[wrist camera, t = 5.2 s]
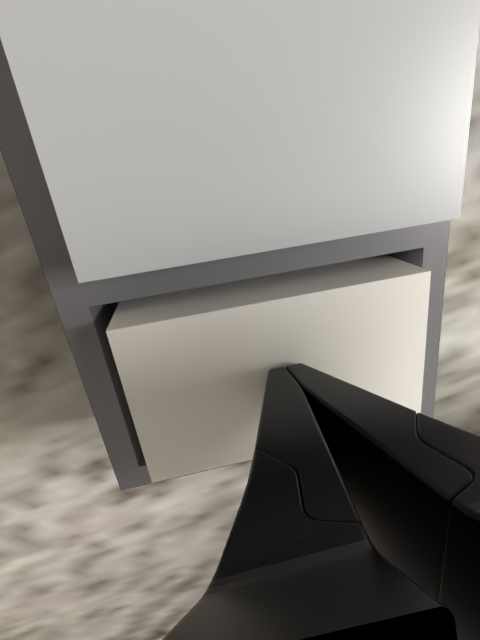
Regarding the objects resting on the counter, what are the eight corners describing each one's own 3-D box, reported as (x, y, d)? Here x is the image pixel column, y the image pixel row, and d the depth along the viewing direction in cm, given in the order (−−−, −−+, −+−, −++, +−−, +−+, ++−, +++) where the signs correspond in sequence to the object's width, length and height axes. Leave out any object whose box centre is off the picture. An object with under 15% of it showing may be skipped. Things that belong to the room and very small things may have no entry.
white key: (368, 369, 13) (420, 420, 10) (157, 414, 12) (152, 482, 9) (368, 248, 11) (430, 271, 9) (123, 291, 10) (105, 331, 8)
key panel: (371, 361, 15) (432, 417, 12) (134, 410, 14) (120, 490, 11) (375, -293, 9) (527, -648, 5) (-75, -289, 7) (-314, -739, 4)
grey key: (382, 207, 10) (460, 218, 7) (107, 252, 9) (78, 283, 7) (385, 12, 8) (488, -69, 6) (50, 47, 8) (-21, -28, 5)
